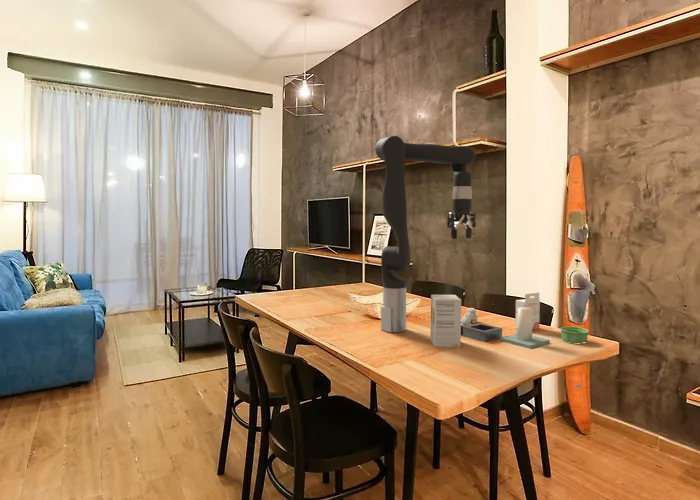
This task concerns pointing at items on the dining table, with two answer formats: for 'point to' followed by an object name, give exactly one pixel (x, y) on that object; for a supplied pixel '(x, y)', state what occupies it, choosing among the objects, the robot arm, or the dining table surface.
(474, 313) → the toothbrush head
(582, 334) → the ramekin
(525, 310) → the end plug
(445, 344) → the supplement box
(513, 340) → the mat
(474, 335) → the socket block
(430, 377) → the dining table surface
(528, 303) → the ink cartridge box
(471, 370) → the dining table surface
